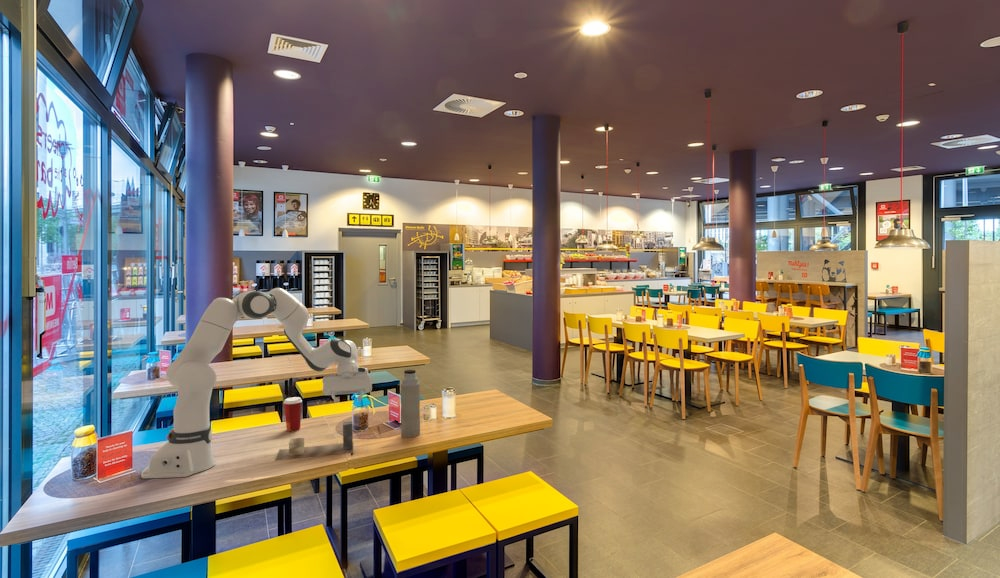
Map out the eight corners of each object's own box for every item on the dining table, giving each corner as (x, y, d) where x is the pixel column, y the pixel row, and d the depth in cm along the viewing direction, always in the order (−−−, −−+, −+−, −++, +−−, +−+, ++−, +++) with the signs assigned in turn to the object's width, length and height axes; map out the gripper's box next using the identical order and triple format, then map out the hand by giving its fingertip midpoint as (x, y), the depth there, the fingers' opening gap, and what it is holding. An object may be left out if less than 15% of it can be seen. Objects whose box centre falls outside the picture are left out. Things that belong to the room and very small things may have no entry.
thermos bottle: (417, 430, 223) (417, 368, 222) (421, 435, 215) (421, 371, 214) (399, 432, 220) (399, 369, 219) (403, 438, 212) (402, 372, 211)
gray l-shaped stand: (274, 462, 186) (274, 433, 185) (279, 451, 197) (279, 424, 197) (353, 454, 194) (352, 427, 193) (353, 444, 205) (352, 418, 205)
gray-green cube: (289, 455, 190) (288, 442, 190) (290, 451, 195) (290, 438, 195) (303, 454, 192) (302, 441, 192) (304, 450, 197) (304, 437, 196)
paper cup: (305, 427, 228) (305, 396, 228) (297, 432, 221) (296, 401, 220) (289, 426, 229) (288, 396, 228) (280, 432, 221) (279, 400, 221)
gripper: (322, 371, 214) (321, 399, 205) (371, 368, 220) (372, 395, 211) (323, 379, 218) (322, 407, 209) (371, 376, 224) (372, 403, 215)
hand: (347, 401), depth 210 cm, fingers open, 8 cm apart
